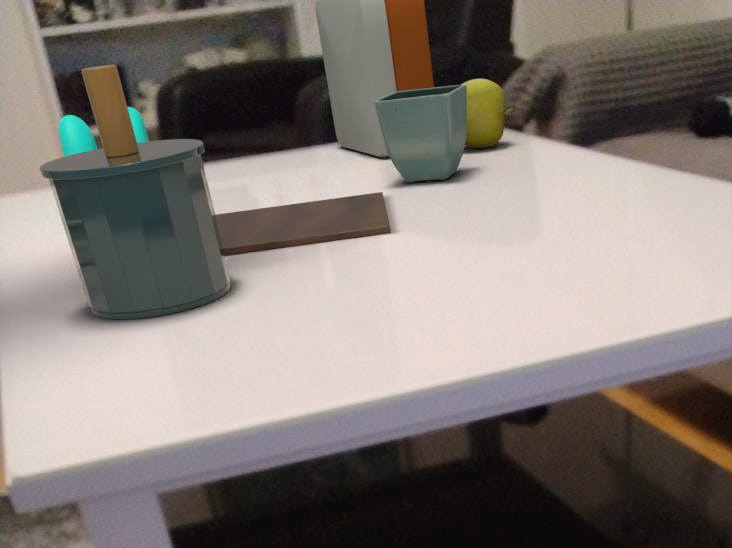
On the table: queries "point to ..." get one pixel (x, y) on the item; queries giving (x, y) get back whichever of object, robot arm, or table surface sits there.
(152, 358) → the table surface
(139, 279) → the canister
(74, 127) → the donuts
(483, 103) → the apple
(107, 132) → the lid
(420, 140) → the flower pot
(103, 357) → the table surface
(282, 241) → the board
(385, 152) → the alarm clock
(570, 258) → the table surface
